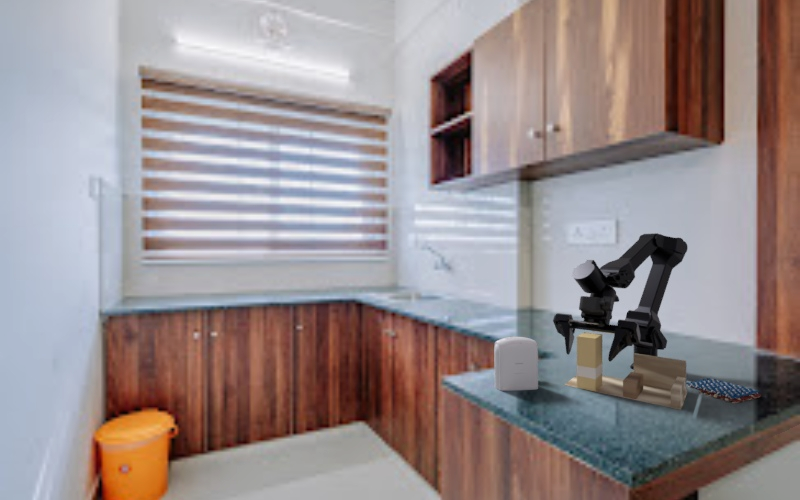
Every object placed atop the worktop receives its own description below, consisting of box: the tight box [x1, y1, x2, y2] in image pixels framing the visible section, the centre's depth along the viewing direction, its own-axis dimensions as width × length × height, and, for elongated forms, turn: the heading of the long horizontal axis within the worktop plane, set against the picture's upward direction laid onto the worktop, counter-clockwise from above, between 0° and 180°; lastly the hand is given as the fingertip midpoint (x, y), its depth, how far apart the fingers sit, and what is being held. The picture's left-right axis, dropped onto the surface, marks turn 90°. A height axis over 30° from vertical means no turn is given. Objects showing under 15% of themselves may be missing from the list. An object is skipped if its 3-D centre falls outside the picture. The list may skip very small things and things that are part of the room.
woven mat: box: [686, 378, 762, 404], centre depth 92 cm, size 10×11×2 cm
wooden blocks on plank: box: [563, 353, 688, 411], centre depth 93 cm, size 14×23×8 cm, turn 50°
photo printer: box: [493, 336, 539, 392], centre depth 94 cm, size 10×4×12 cm, turn 96°
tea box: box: [576, 332, 604, 392], centre depth 94 cm, size 6×4×12 cm
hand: (587, 356), depth 93 cm, fingers open, 9 cm apart
